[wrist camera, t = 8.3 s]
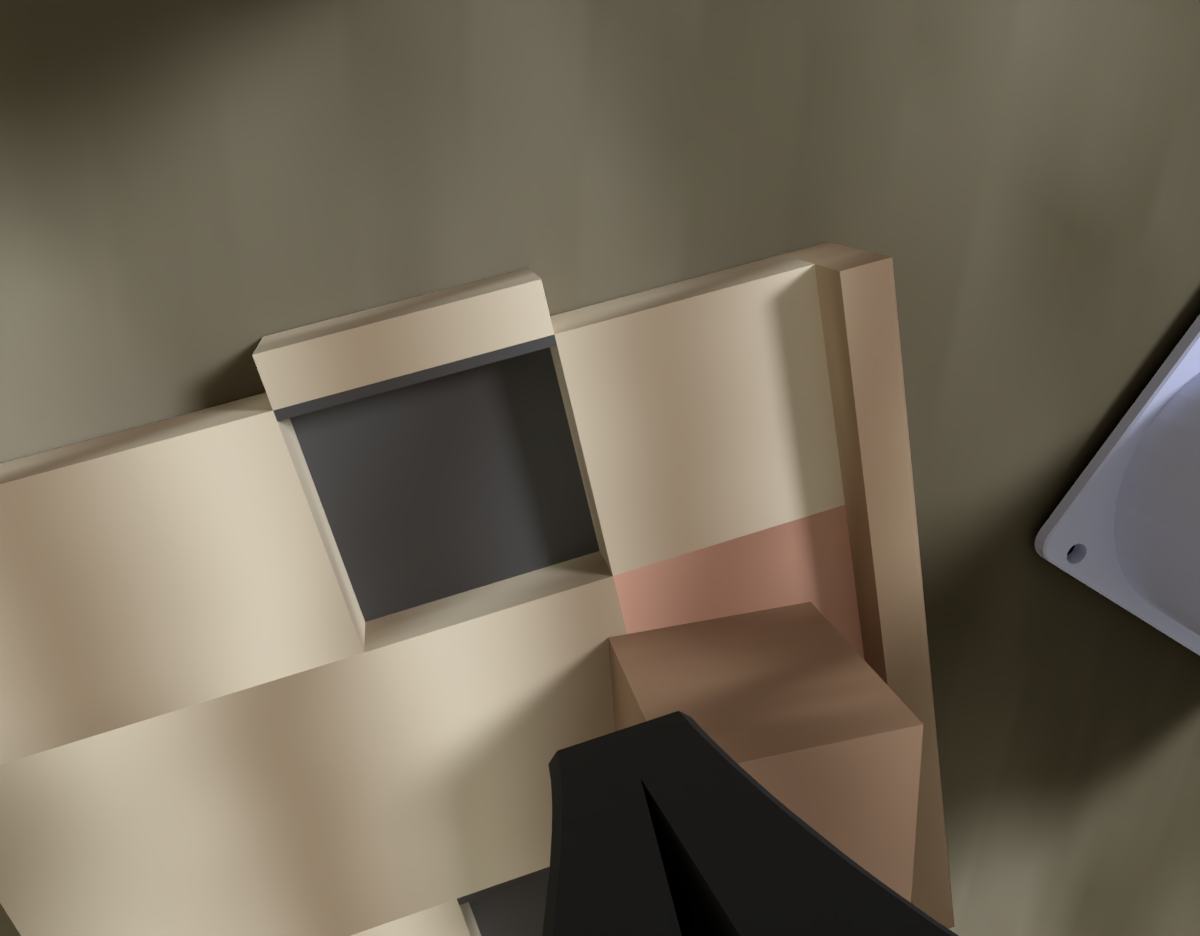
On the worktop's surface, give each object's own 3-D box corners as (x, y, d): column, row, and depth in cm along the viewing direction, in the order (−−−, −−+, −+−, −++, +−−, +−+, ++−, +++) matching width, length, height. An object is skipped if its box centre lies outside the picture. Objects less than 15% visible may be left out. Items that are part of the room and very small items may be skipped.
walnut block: (810, 601, 19) (923, 724, 15) (807, 771, 21) (909, 922, 17) (608, 637, 19) (671, 776, 14) (620, 810, 20) (680, 980, 16)
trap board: (822, 191, 18) (886, 199, 16) (904, 879, 25) (957, 954, 23) (-207, 458, 16) (-309, 514, 13) (203, 1137, 23) (182, 1250, 20)
